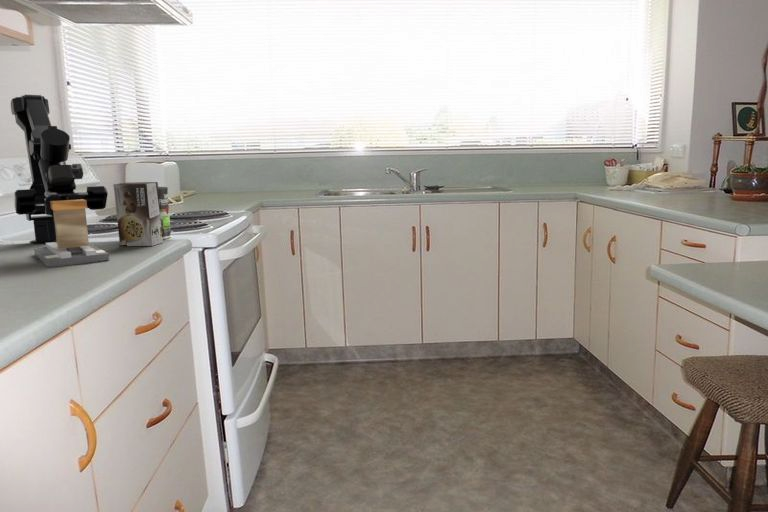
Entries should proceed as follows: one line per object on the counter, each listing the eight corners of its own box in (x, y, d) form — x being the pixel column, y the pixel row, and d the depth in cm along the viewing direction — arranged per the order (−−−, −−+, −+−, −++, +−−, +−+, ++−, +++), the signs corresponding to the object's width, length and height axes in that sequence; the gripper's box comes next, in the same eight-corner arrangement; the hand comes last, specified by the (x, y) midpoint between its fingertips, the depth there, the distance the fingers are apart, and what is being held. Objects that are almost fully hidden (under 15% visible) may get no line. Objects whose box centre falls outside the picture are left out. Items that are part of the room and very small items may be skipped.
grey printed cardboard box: (163, 242, 159) (159, 181, 156) (152, 246, 153) (147, 183, 150) (131, 242, 160) (125, 181, 157) (118, 246, 154) (112, 183, 151)
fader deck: (34, 254, 142) (33, 244, 142) (89, 249, 149) (88, 239, 149) (48, 267, 127) (47, 255, 126) (109, 260, 134) (108, 249, 133)
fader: (55, 252, 134) (50, 201, 132) (88, 249, 138) (83, 199, 136) (58, 254, 131) (53, 202, 129) (91, 251, 135) (86, 200, 133)
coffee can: (176, 235, 172) (173, 186, 170) (163, 240, 162) (159, 188, 159) (141, 235, 172) (137, 186, 170) (125, 241, 162) (120, 189, 160)
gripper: (9, 152, 130) (22, 206, 123) (101, 151, 141) (118, 201, 135) (10, 187, 138) (22, 240, 131) (97, 184, 149) (112, 232, 142)
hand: (70, 227), depth 134 cm, fingers closed, pressing on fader
